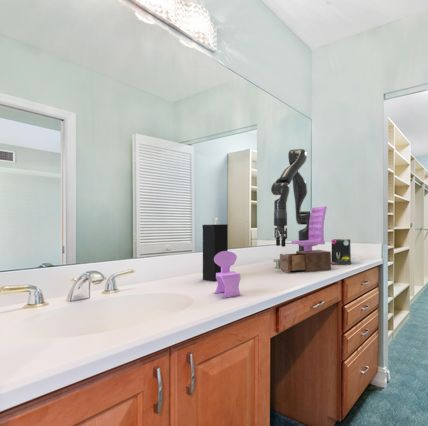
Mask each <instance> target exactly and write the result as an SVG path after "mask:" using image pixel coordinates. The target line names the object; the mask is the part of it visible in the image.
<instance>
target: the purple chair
mask: <svg viewBox="0 0 428 426" xmlns="http://www.w3.org/2000/svg"><path fill="white" fill-rule="evenodd" d="M327 209H328V207H327V205H326V206H325V205H324V206H314V207H311V209H310V212H311V215H310V220H309V240H305V241H299V240H291V245H298V246H299V245H301V246H304V251H308V250H313V247H315V246H318V245H325V244H326V241H325V234H324V228H325V227H324V226H325V220H326V219H325V218H326V213H327Z"/></svg>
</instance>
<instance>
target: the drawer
mask: <svg viewBox="0 0 428 426" xmlns="http://www.w3.org/2000/svg"><path fill="white" fill-rule="evenodd" d="M279 259H280V260H276V259H275V258H274V259H273V263H275V264H276V263H280V268H279V270H282V271H285V272H287V273H291V271H292V272H293V271H301V270H305V269H306V265H305V254H300V253H296V252H295V253H285V254H284V253H280V254H279Z"/></svg>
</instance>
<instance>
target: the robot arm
mask: <svg viewBox="0 0 428 426" xmlns="http://www.w3.org/2000/svg"><path fill="white" fill-rule="evenodd" d="M307 154H308V153H307V151H306V150H305V149H303V148H296V149H290V150H289V151H288V153H287V155H288V156H287V157H288V163H289V165H288V166H287V167H286V168H285V169H284V170H283V171H282V173H281V174H280V176H279V177H278V178H277V179H276V180H275V181H274V182H273V183H272V184H271V188H270V192H271V194H272V195H273V196H279V198H277V199H275V200H274V201H273V226H274V239H275V246H276V247H279V246H281V247H282V248H283V247H286V240H287V239H288V228H287V226H288V212H287V211H288V210H287V203H288V199H289V194H290V185H291V183H292V191H293V198H294V209H295V221H296V224H297V225H300V226H301V225H303V226H304V225H306V226H305V227H304V228H301V229H299V230H298V231H297V232H298V241H305V240H309V220H310V215H311V210H302V206H303V202H304V200H305V199H306V197H307V195H308V186H307V182H306V180H305V178H304V176H303V175H302V174H301V173H300V169H301V168H302V167H303V165H304V164H305V163H306V161H307V158H308V155H307ZM297 251H304V246H301V245H298V250H297Z"/></svg>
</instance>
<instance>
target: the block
mask: <svg viewBox="0 0 428 426" xmlns="http://www.w3.org/2000/svg"><path fill="white" fill-rule="evenodd" d="M276 260H280V258H279V259H278V258H277V259H276ZM275 268H277V269H280V263H276V262H275Z"/></svg>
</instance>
